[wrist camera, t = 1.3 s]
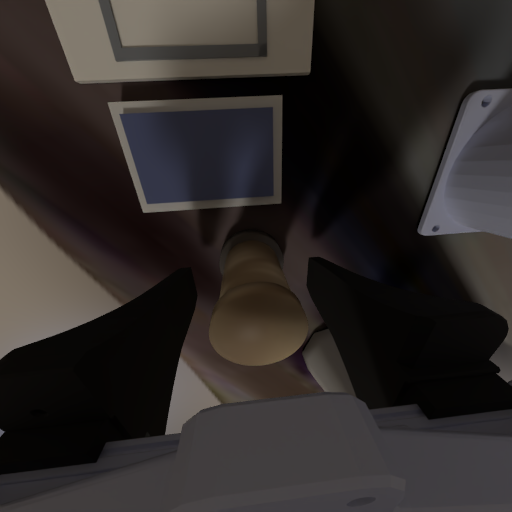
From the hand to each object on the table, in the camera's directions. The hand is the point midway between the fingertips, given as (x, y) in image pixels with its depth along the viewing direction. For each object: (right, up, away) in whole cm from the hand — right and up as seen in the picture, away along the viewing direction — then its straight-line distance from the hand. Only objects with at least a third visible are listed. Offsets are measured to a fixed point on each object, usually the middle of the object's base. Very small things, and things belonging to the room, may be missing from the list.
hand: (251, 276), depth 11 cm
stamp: (0, +1, +2) cm, 2 cm away
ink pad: (-2, +7, -1) cm, 7 cm away
